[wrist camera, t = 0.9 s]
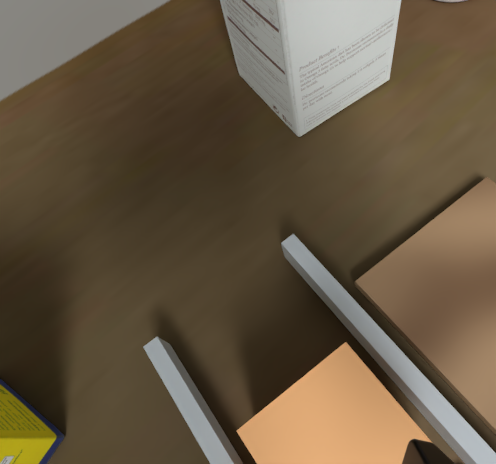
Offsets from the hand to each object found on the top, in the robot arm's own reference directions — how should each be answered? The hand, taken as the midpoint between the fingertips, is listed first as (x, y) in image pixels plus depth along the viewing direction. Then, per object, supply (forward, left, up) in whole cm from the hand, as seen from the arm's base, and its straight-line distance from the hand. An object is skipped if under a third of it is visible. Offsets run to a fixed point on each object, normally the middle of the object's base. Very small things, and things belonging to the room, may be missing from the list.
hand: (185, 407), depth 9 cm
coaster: (-2, -12, -12) cm, 17 cm away
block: (-2, -2, -12) cm, 12 cm away
